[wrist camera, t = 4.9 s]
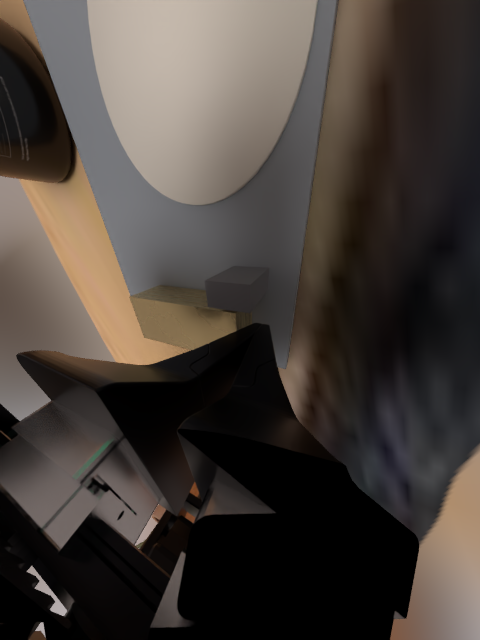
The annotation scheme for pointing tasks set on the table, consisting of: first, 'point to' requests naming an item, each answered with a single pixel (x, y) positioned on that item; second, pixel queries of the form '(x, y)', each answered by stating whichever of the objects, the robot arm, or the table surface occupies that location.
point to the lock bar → (184, 317)
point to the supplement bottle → (30, 115)
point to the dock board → (198, 137)
